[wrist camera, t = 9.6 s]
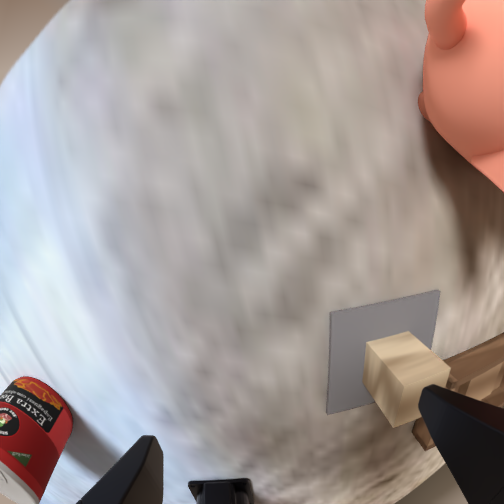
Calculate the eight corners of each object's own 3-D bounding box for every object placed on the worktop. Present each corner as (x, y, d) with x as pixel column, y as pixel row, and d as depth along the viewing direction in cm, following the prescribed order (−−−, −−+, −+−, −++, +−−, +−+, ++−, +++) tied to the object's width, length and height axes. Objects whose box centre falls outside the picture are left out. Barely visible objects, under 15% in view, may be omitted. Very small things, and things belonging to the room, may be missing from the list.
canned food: (70, 390, 20) (19, 478, 9) (80, 442, 22) (48, 520, 11) (7, 361, 19) (-53, 427, 8) (22, 416, 21) (-19, 481, 10)
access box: (498, 386, 26) (512, 399, 23) (411, 432, 25) (425, 451, 22) (518, 324, 24) (536, 334, 21) (432, 364, 23) (451, 383, 19)
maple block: (402, 369, 22) (437, 409, 16) (362, 381, 22) (393, 428, 16) (408, 331, 21) (450, 367, 15) (366, 342, 21) (404, 386, 15)
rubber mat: (420, 383, 23) (422, 385, 23) (326, 412, 23) (327, 414, 22) (437, 289, 21) (440, 291, 21) (329, 312, 20) (331, 314, 20)
